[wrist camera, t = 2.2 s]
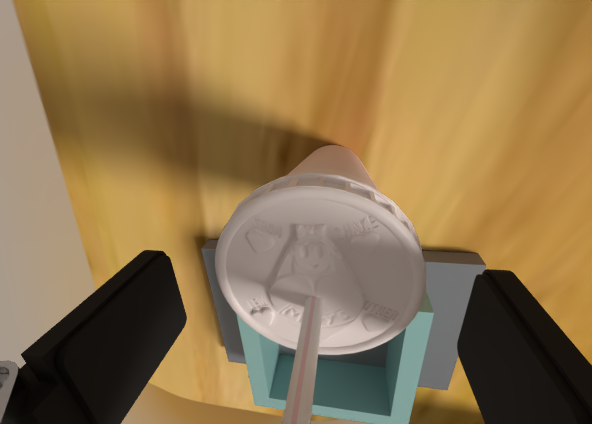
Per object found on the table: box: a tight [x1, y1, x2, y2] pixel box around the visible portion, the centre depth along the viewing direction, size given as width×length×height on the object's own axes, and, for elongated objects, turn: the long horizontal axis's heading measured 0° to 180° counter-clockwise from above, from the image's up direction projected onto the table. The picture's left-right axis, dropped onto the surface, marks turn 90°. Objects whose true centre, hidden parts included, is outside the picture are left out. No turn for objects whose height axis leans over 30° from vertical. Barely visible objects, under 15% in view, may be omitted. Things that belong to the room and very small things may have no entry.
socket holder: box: [201, 240, 486, 424], centre depth 20 cm, size 12×18×5 cm, turn 93°
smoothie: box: [215, 145, 427, 424], centre depth 11 cm, size 6×6×14 cm
